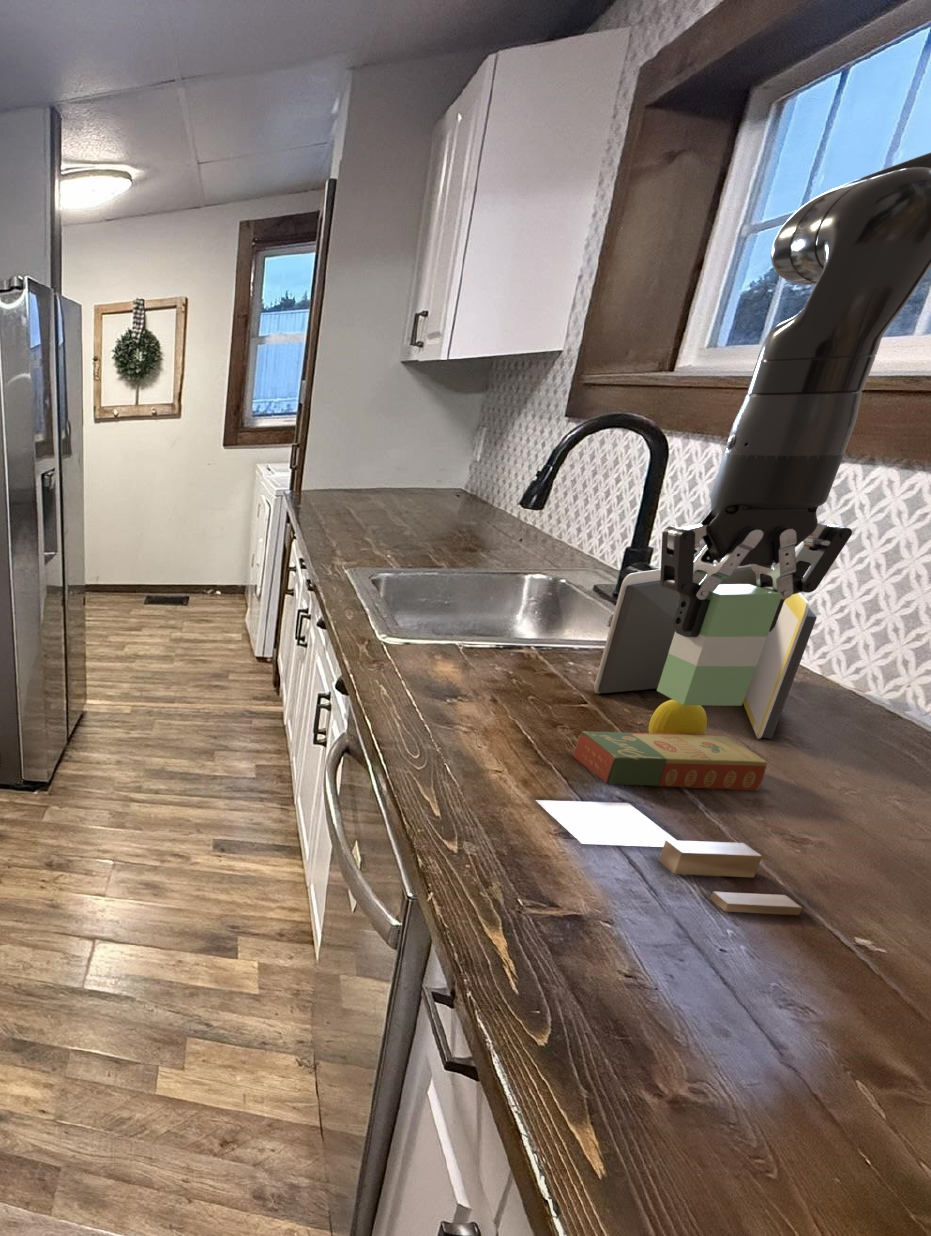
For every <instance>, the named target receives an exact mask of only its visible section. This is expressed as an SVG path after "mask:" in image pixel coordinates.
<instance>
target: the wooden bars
mask: <svg viewBox="0 0 931 1236" xmlns="http://www.w3.org/2000/svg"><path fill="white" fill-rule="evenodd" d="M762 858H763V855H761V854H760V853H759V852H757V851H756V850H754V849H753V848H751V847H750V846H749V845H747V844H746V843H744V842H730V841H729V842H727V841H700V840H698V841H697V840H677V839H676V840H666V841H665V843H664V846H663V848H662V850H661V852H660V855H659V858H658V862H659V863H660V864H662V865H663V866H664V867H665V868H666V869H668V870H669V871H670V872H671V873H672V874H674V875H688V876H691V875H692V876H712V877H735V878H736V877H737V878H755V875H756V873H757V871H758V868H759V865H760V863H761V861H762ZM709 899H710V900H711V901H712V902H713V903H714V904H716V906H718V907H719V908H720V909H722V910H723V911H724V912H728V913H729V912H731V913H746V914H747V913H749V914H767V915H768V914H769V915H786V916H787V915H789V916H800V914H801V912H802V909H803V907H802V906H801V905H800V904H798V903H797V902H796V901H795V900H794V899H791V898H790V897H789V896H787V895H785V894H771V893H750V892H749V893H748V892H729V891H727V892H726V891H712V893H711V896H710V898H709Z"/></svg>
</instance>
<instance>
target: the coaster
mask: <svg viewBox="0 0 931 1236" xmlns="http://www.w3.org/2000/svg"><path fill="white" fill-rule="evenodd" d="M534 801H535V803H537V804H538V805H539V806H540V807H541V808H543V810H545V812H546V813H548V814H549V816H551V817H552V818H553V819H554V820H555V821H556V822H557V823H559V824H560V825H561V826H562V827H563V828H564V829H565V830H566V831H567V832H568V833H569V834H570V835H571V836H572V837H574V839H575V840H577V841H578V843H580V844H581V845H586V846H587V845H588V846H608V847H609V846H610V847H611V846H612V847H613V846H615V847H639V848H662V849H663V846H664V843H665V841H666V840H677V839H676V838H675V837H674V836H672V835H671V834H669V833H668V832H667V831H665V830H664V829H663V828H662V827H660V826H659V825H658V824H656V823H655V822H654V821H652V819H650V818H649V817H647V815H645V814H643V813H642V812H641V811H640V810H638V809H637V808H636V807H634V806H633V805H632V804H631V803H629V802H614V801H613V802H609V801H608V802H607V801H581V800H580V801H577V800H547V799H544V800H543V799H540V800H539V799H535V800H534Z"/></svg>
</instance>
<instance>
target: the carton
mask: <svg viewBox="0 0 931 1236" xmlns="http://www.w3.org/2000/svg"><path fill="white" fill-rule="evenodd" d="M572 757H573V758H575V759H576V760H577V761H578V762H579V763H581V765H583V766H584V767H585V768H587V769H588V770H589V771H591V772H592V774H594V775H595V776H596V777H598V778H599V779H601V781H602V782H604V783H605V784H608V785H629V786H630V785H633V786H650V787H651V786H654V787H655V786H656V787H674V788H675V787H676V788H697V789H719V790H720V789H721V790H743V791H744V790H745V791H759V789H760V787H761V786H762V782H763V780H764V777H765V773H766V770H767V766H768V761H766V760H765V759H764V758H762V757H761V756H759V755H757V754H756V753H754V752H752V751H751V750H750V749H748V748H747V747H744V746H742V745H741V744H739V743H737V742H735V741H734V740H732V739H730V738H728V737H727V736H725V735H723V734H708V733H707V734H706V733H705V734H661V733H649V732H621V731H589V730H588V731H587V730H584V731H581V733H580V734H579V737H578V738H577V743H576V745H575V747H574V751H573V755H572Z"/></svg>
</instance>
